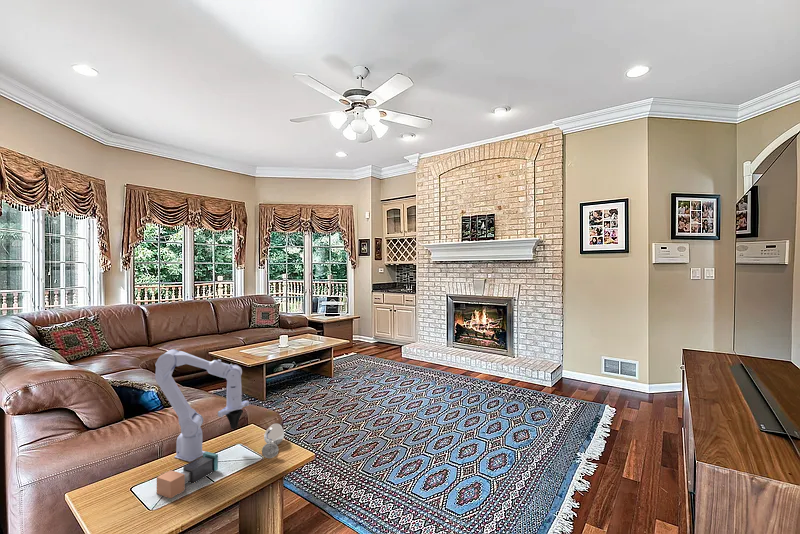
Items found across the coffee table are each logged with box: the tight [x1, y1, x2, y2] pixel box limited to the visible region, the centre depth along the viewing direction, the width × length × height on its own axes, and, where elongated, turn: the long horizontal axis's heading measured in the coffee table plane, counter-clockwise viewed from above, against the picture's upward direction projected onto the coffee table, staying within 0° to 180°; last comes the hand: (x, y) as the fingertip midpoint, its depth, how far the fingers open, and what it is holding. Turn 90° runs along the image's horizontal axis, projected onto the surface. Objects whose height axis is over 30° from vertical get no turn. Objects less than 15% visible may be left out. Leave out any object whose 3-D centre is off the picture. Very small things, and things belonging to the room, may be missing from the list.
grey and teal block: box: [180, 451, 219, 484], centre depth 136 cm, size 6×16×6 cm, turn 157°
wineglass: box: [261, 423, 285, 459], centre depth 160 cm, size 8×8×18 cm
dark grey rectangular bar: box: [182, 456, 213, 484], centre depth 138 cm, size 5×8×5 cm, turn 157°
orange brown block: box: [156, 469, 186, 499], centre depth 128 cm, size 7×5×6 cm
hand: (234, 428), depth 158 cm, fingers closed
